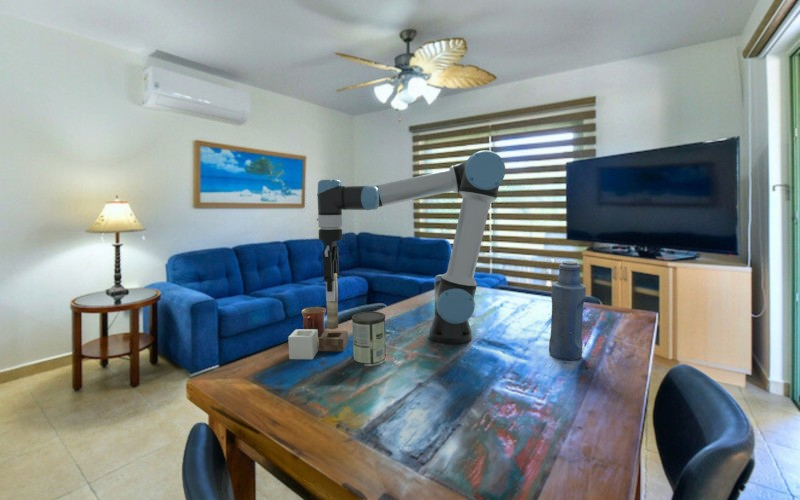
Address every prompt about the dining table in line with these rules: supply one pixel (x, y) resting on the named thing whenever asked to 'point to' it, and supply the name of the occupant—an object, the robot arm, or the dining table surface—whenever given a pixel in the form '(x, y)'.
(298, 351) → the white hollow square frame
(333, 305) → the dowel
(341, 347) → the socket block
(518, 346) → the dining table surface
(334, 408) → the dining table surface
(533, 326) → the dining table surface
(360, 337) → the coffee can
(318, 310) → the mug
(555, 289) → the bottle
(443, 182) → the robot arm
